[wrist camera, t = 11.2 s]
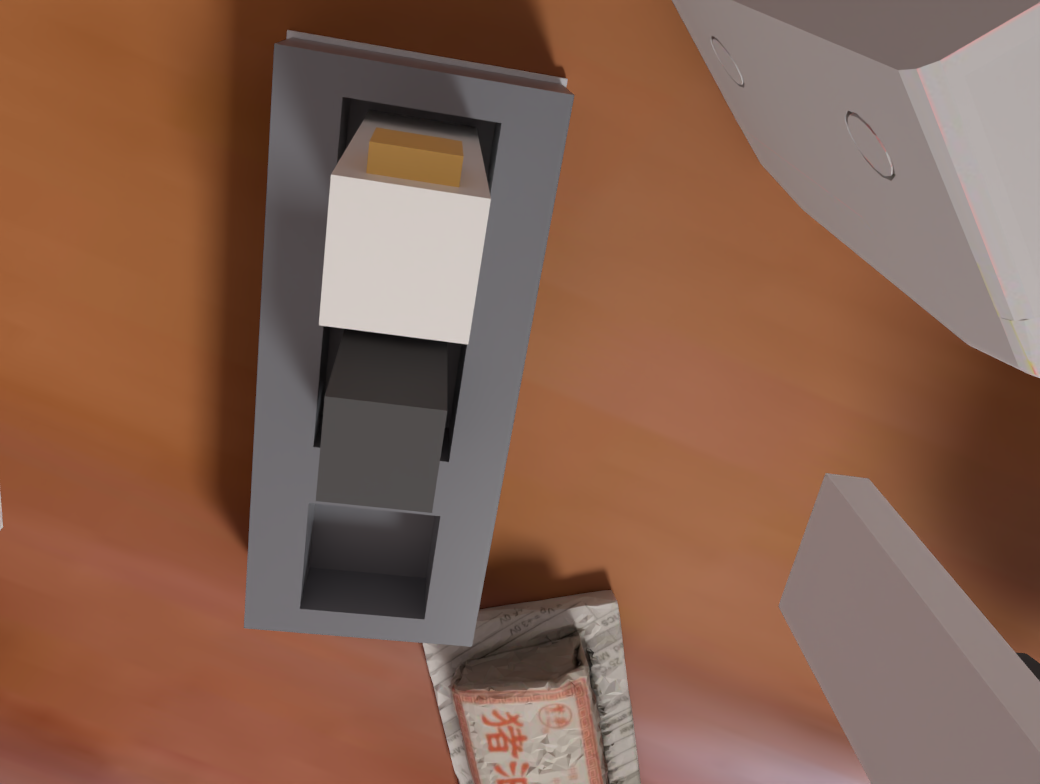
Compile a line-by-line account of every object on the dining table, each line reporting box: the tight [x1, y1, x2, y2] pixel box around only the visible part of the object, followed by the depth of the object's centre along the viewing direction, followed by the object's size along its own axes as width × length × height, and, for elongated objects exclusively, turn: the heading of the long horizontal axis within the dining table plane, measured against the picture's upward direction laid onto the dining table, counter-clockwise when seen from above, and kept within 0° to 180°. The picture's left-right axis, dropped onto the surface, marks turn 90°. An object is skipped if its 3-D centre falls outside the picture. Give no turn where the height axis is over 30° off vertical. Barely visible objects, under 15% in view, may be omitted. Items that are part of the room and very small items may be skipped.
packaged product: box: [423, 590, 641, 784], centre depth 46 cm, size 18×5×10 cm
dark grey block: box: [316, 329, 447, 513], centre depth 33 cm, size 4×4×8 cm
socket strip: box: [244, 30, 574, 647], centre depth 36 cm, size 10×24×4 cm, turn 170°
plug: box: [319, 110, 491, 344], centre depth 28 cm, size 4×5×12 cm
